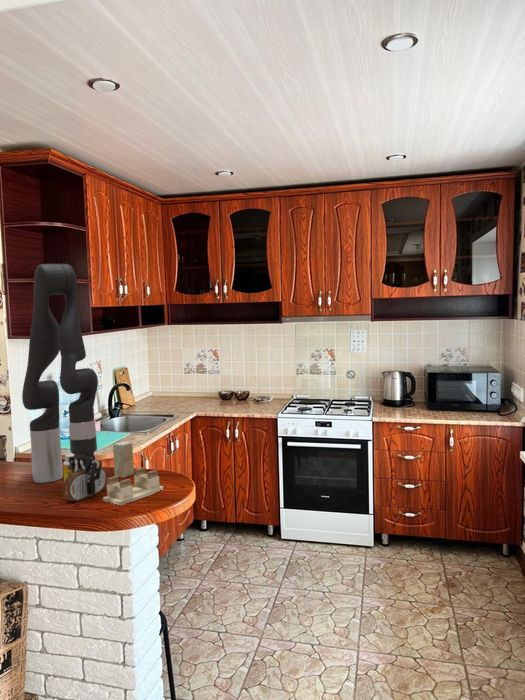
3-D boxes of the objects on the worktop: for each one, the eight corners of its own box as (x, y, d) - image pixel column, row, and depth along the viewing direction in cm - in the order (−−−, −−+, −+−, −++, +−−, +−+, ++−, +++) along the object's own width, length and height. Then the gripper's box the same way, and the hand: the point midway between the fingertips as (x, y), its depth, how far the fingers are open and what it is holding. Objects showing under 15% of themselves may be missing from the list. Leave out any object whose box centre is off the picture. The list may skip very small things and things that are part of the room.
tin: (102, 488, 166) (100, 462, 165) (109, 489, 164) (107, 463, 164) (62, 504, 153) (60, 475, 152) (70, 505, 151) (68, 476, 151)
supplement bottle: (67, 490, 166) (64, 457, 165) (62, 485, 170) (60, 454, 170) (85, 486, 169) (83, 454, 168) (80, 482, 173) (78, 451, 173)
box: (123, 478, 176) (121, 445, 175) (114, 476, 178) (112, 444, 177) (134, 473, 180) (132, 441, 180) (125, 472, 182) (123, 440, 182)
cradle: (103, 500, 154) (101, 479, 153) (146, 485, 166) (145, 466, 166) (120, 505, 149) (119, 483, 148) (163, 489, 161) (162, 469, 161)
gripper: (58, 436, 159) (61, 492, 160) (86, 441, 150) (89, 500, 151) (80, 431, 165) (83, 485, 166) (108, 435, 156) (111, 492, 157)
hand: (86, 492), depth 158 cm, fingers open, 4 cm apart
